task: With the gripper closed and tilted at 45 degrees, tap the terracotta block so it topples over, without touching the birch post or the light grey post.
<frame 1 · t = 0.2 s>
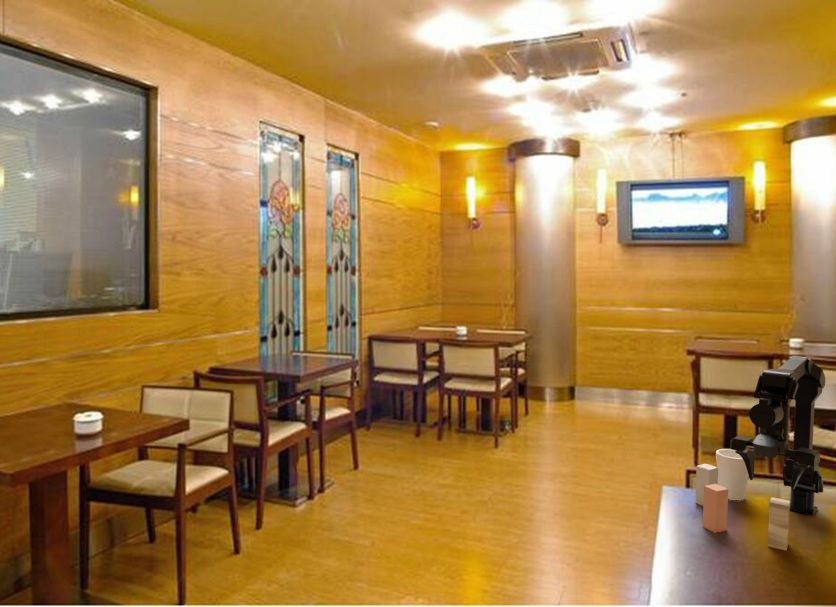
hand: (771, 484, 155), 14 cm above the table, tool pointing down, fingers open, 9 cm apart
birch post: (777, 545, 154), on the table
terracotta block: (714, 528, 163), on the table
foam cup: (732, 497, 184), on the table
grey post: (706, 504, 179), on the table
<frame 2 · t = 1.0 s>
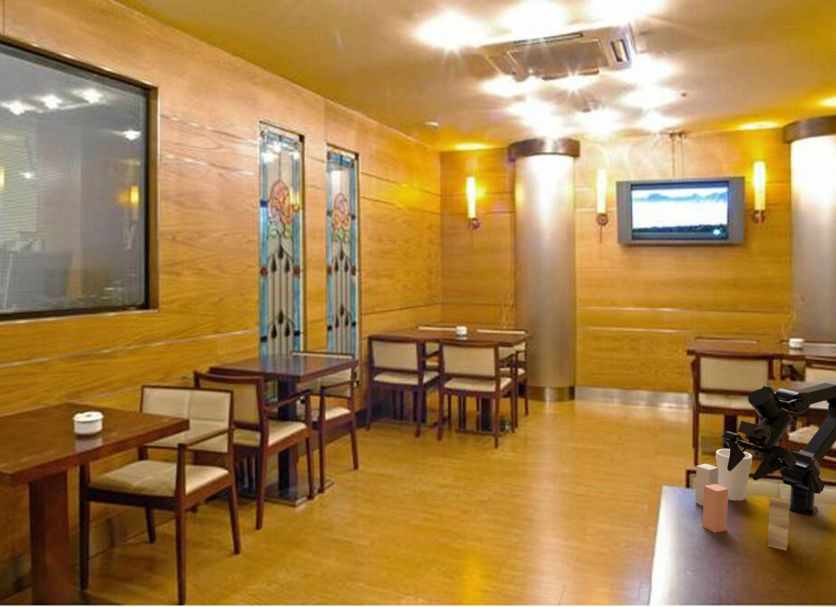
hand: (740, 474, 165), 13 cm above the table, tool tilted 45°, fingers open, 7 cm apart
nothing on the table moved.
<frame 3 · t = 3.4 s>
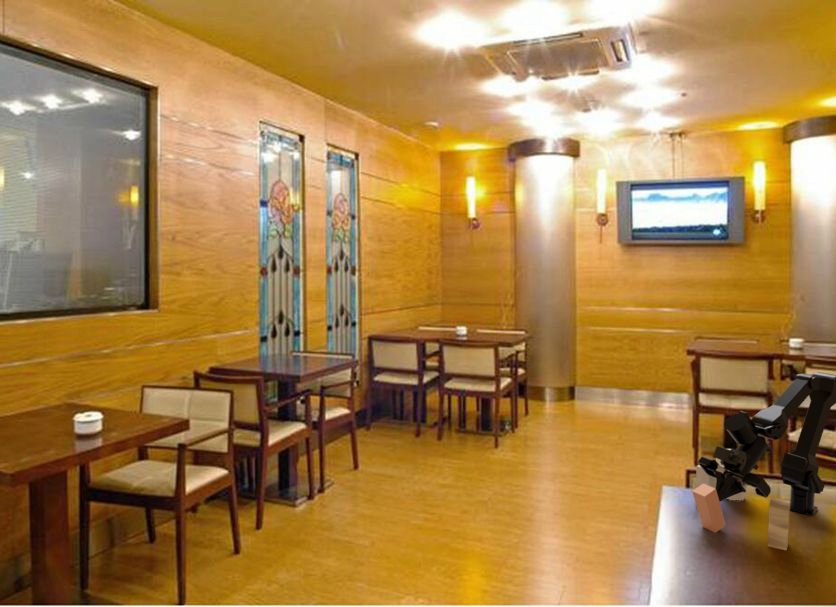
hand: (714, 501, 162), 7 cm above the table, tool tilted 45°, fingers closed
terracotta block: (714, 525, 163), point 1 cm above the table, tilted 22°
everything else where it was.
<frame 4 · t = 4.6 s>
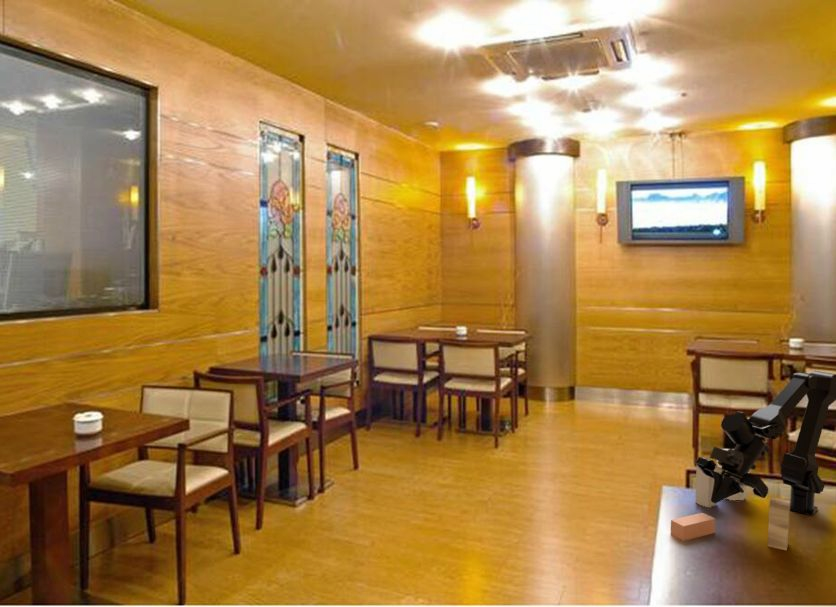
hand: (712, 502, 162), 7 cm above the table, tool tilted 45°, fingers closed
terracotta block: (708, 523, 162), point 2 cm above the table, tilted 90°
everything else where it was.
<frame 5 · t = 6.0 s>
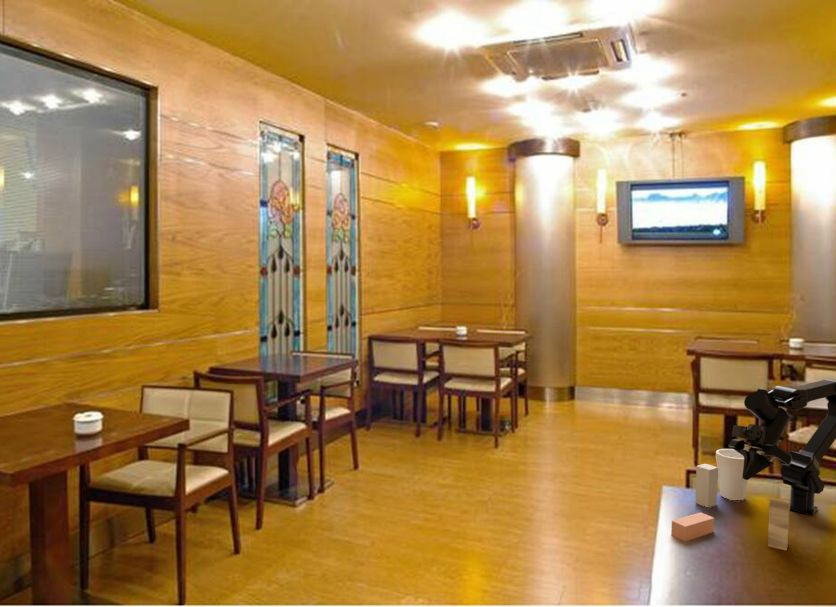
hand: (744, 479, 166), 12 cm above the table, tool tilted 35°, fingers closed
nothing on the table moved.
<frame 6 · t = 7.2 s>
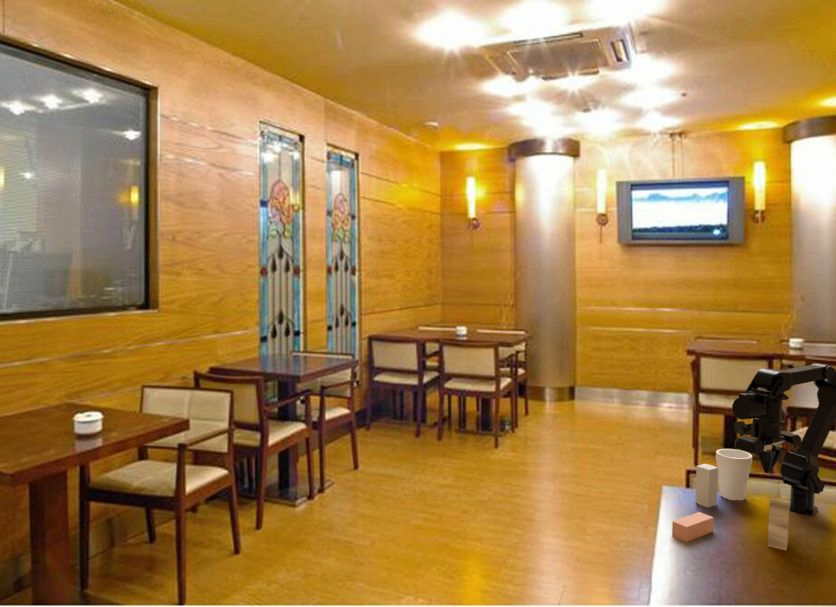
hand: (766, 472, 170), 12 cm above the table, tool pointing down, fingers closed
nothing on the table moved.
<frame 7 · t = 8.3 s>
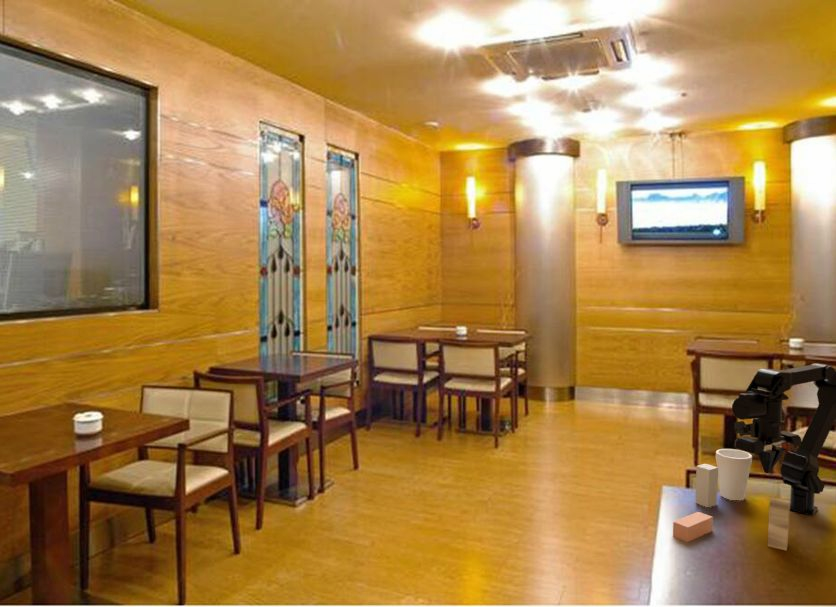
hand: (766, 472, 170), 12 cm above the table, tool pointing down, fingers closed
nothing on the table moved.
at the end: terracotta block tilted 90°; birch post moved 0.0 cm from its start; grey post moved 0.0 cm from its start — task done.
